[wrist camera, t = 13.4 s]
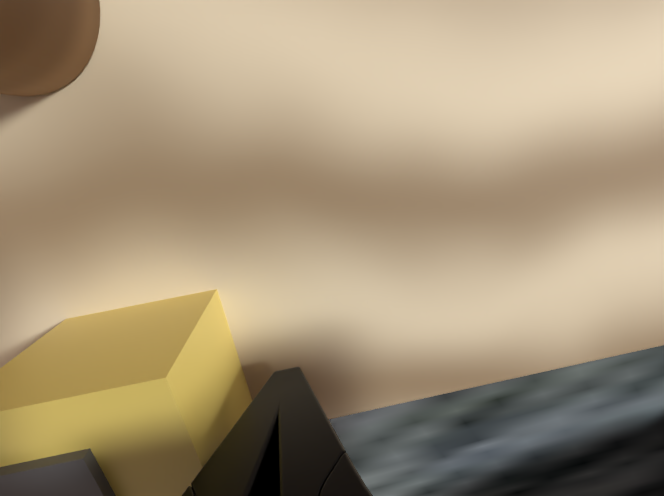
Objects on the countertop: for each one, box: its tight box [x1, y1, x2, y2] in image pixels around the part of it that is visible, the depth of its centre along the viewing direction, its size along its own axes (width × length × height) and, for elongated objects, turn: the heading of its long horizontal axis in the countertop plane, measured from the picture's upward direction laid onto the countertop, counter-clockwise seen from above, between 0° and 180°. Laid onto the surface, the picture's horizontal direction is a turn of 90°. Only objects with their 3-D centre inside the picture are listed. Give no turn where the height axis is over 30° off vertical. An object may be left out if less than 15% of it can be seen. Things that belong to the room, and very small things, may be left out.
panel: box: [0, 0, 664, 419], centre depth 9 cm, size 22×26×1 cm
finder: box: [0, 289, 252, 496], centre depth 8 cm, size 5×4×4 cm
